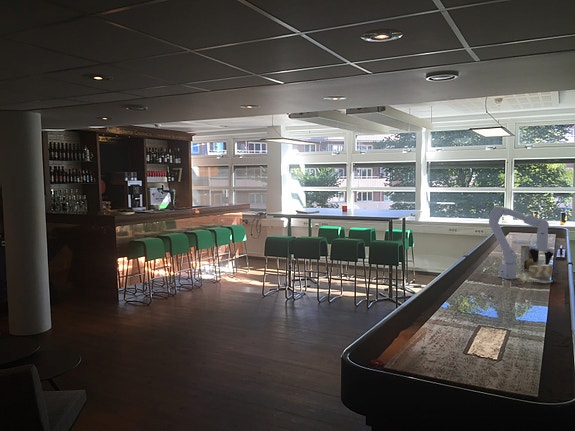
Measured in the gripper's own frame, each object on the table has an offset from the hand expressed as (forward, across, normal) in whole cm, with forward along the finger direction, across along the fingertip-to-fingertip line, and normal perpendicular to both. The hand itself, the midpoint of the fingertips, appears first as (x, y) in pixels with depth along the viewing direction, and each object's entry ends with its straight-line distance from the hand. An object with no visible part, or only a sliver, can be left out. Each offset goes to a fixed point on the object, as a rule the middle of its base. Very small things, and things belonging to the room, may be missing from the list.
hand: (540, 263), depth 267 cm
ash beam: (+7, 0, 0) cm, 7 cm away
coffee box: (+11, +24, -24) cm, 35 cm away
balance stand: (+10, 0, 0) cm, 10 cm away
